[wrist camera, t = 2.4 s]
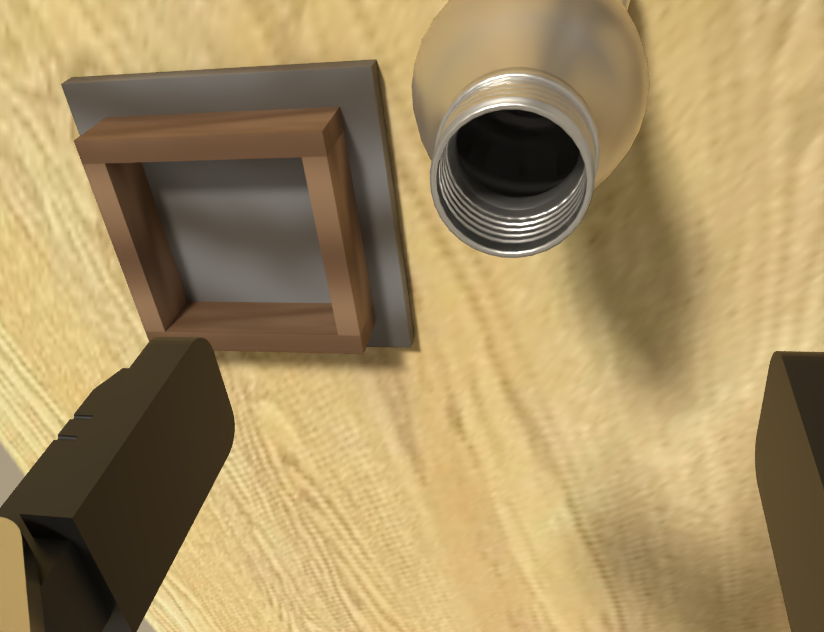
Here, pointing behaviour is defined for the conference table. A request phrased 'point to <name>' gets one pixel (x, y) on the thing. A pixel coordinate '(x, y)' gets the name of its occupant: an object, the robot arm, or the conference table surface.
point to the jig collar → (250, 203)
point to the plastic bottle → (526, 114)
